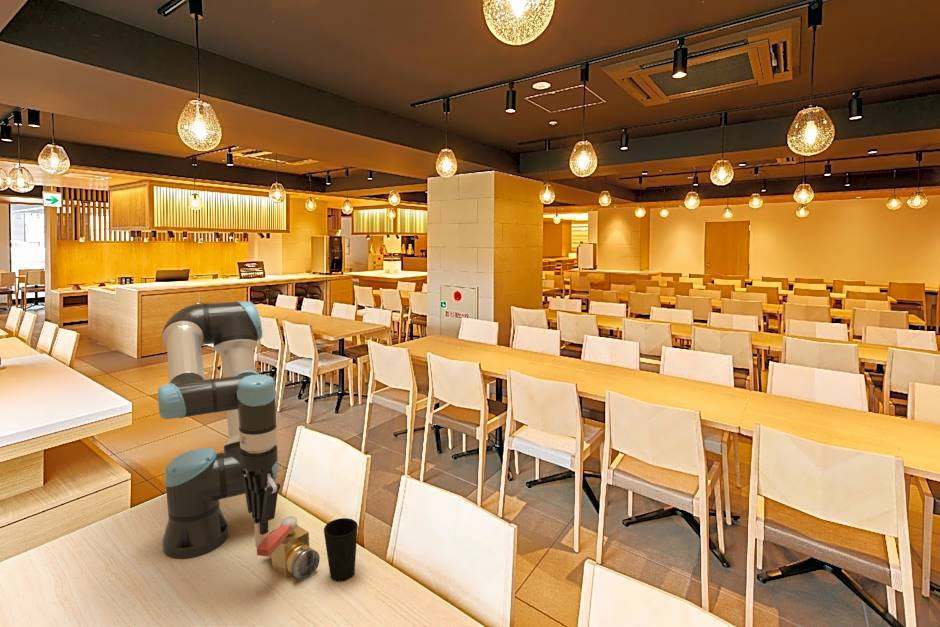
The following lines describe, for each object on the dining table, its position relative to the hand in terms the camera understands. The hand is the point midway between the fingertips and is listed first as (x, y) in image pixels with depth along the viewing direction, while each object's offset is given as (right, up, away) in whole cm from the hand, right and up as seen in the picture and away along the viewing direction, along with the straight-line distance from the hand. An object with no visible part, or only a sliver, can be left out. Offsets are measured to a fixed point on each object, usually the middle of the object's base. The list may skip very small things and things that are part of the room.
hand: (262, 545), depth 116 cm
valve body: (+4, -9, +8) cm, 13 cm away
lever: (+3, 0, +2) cm, 4 cm away
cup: (+17, -9, +6) cm, 20 cm away
